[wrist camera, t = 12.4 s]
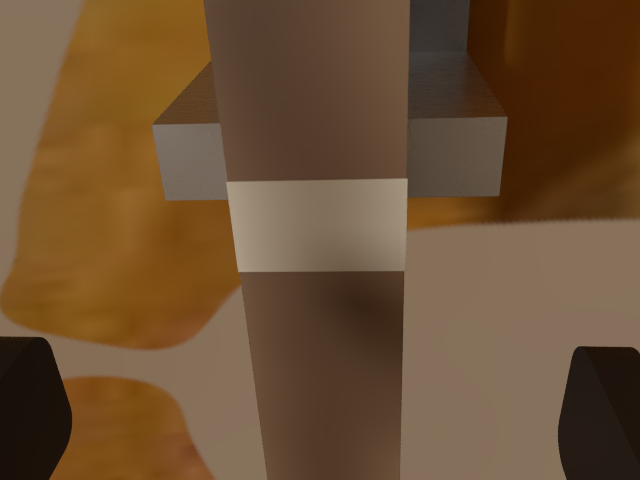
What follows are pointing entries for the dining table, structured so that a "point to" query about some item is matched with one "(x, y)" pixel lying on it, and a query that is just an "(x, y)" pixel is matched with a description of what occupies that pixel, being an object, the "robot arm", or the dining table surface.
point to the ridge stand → (422, 122)
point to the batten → (319, 222)
